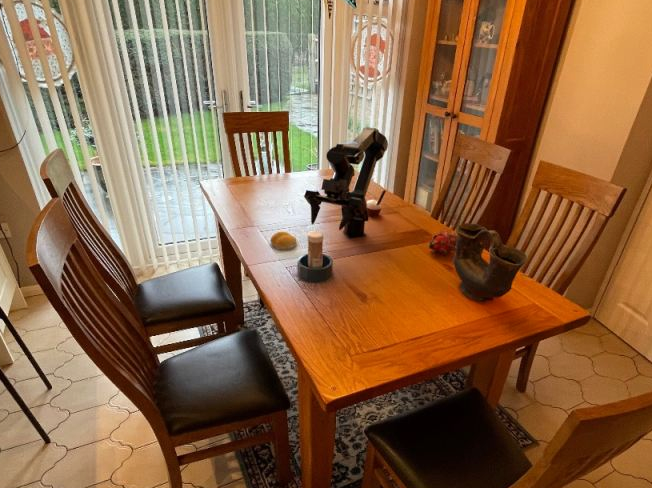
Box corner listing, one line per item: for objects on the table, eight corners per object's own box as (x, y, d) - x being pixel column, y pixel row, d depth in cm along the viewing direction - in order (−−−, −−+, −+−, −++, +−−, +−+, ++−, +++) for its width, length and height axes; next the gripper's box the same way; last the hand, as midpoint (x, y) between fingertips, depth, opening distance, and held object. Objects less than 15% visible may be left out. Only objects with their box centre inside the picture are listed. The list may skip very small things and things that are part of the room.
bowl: (324, 263, 136) (324, 251, 133) (337, 279, 128) (338, 266, 126) (293, 268, 132) (293, 256, 129) (304, 285, 124) (304, 271, 122)
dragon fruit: (457, 254, 150) (429, 265, 146) (446, 234, 152) (418, 244, 148) (468, 243, 142) (439, 254, 138) (456, 222, 144) (427, 232, 140)
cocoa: (362, 211, 176) (363, 183, 169) (376, 210, 177) (378, 182, 171) (370, 220, 168) (372, 191, 162) (384, 219, 170) (387, 190, 164)
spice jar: (319, 278, 127) (319, 238, 120) (305, 275, 128) (305, 235, 121) (324, 271, 131) (325, 232, 124) (311, 269, 132) (311, 229, 125)
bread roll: (281, 252, 141) (281, 241, 139) (267, 242, 146) (266, 232, 144) (302, 246, 146) (301, 235, 143) (287, 237, 151) (287, 226, 149)
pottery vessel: (438, 274, 133) (448, 215, 123) (466, 269, 137) (479, 211, 127) (488, 319, 114) (506, 253, 104) (520, 311, 118) (540, 247, 107)
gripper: (306, 162, 127) (289, 209, 124) (364, 172, 122) (348, 221, 118) (317, 181, 137) (301, 224, 134) (371, 191, 132) (356, 236, 129)
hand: (325, 226), depth 129 cm, fingers open, 9 cm apart
